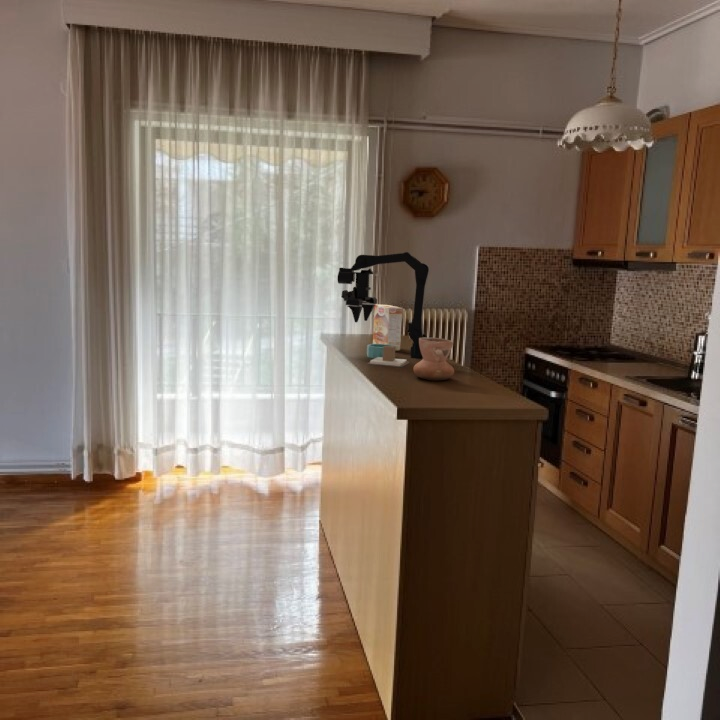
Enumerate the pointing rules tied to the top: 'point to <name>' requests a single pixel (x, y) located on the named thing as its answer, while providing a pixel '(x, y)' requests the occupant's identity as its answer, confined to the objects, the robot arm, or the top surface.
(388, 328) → the coffeecake box
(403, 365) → the mat
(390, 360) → the lid
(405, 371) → the top surface
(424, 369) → the ceramic jug
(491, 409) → the top surface
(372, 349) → the bowl
